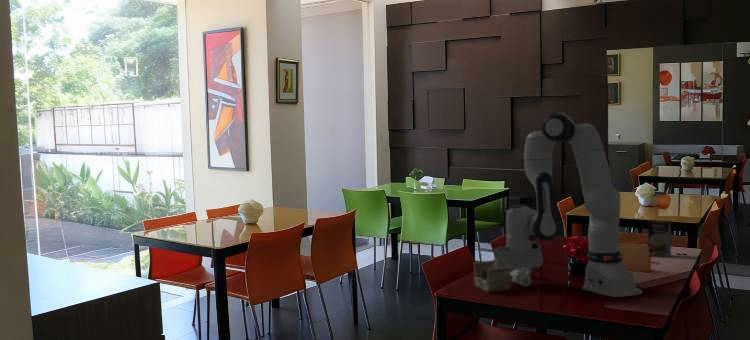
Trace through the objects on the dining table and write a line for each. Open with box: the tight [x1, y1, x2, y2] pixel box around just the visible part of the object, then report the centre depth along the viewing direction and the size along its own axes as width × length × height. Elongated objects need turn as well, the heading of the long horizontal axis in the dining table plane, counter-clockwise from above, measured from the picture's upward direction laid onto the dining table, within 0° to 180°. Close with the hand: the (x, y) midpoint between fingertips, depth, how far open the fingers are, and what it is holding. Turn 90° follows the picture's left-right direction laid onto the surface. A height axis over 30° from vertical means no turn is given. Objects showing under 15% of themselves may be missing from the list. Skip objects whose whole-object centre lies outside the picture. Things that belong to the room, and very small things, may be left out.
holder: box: [472, 260, 511, 294], centre depth 260 cm, size 14×9×9 cm, turn 15°
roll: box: [510, 270, 532, 287], centre depth 263 cm, size 10×5×5 cm, turn 16°
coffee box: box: [647, 219, 672, 258], centre depth 303 cm, size 9×6×16 cm
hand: (518, 279), depth 264 cm, fingers open, 6 cm apart
